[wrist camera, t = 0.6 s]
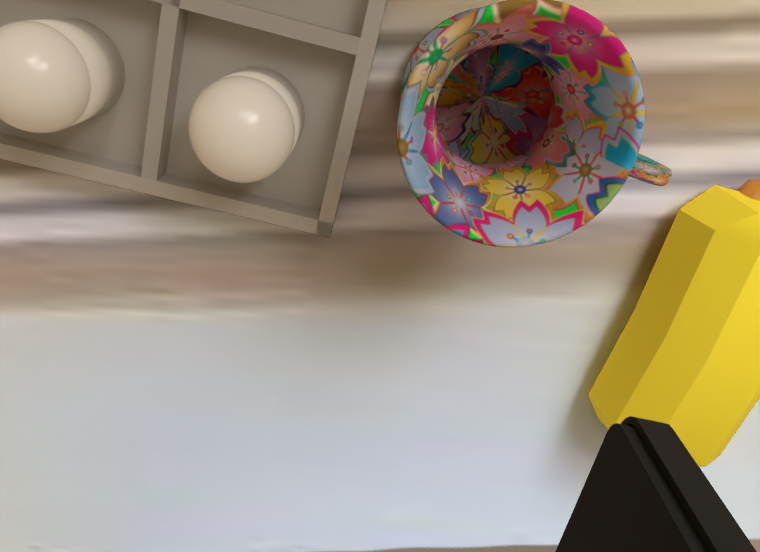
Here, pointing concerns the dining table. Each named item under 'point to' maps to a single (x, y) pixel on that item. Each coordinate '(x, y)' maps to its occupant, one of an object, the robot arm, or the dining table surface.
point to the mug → (521, 122)
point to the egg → (246, 124)
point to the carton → (196, 72)
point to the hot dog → (694, 328)
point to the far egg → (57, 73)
